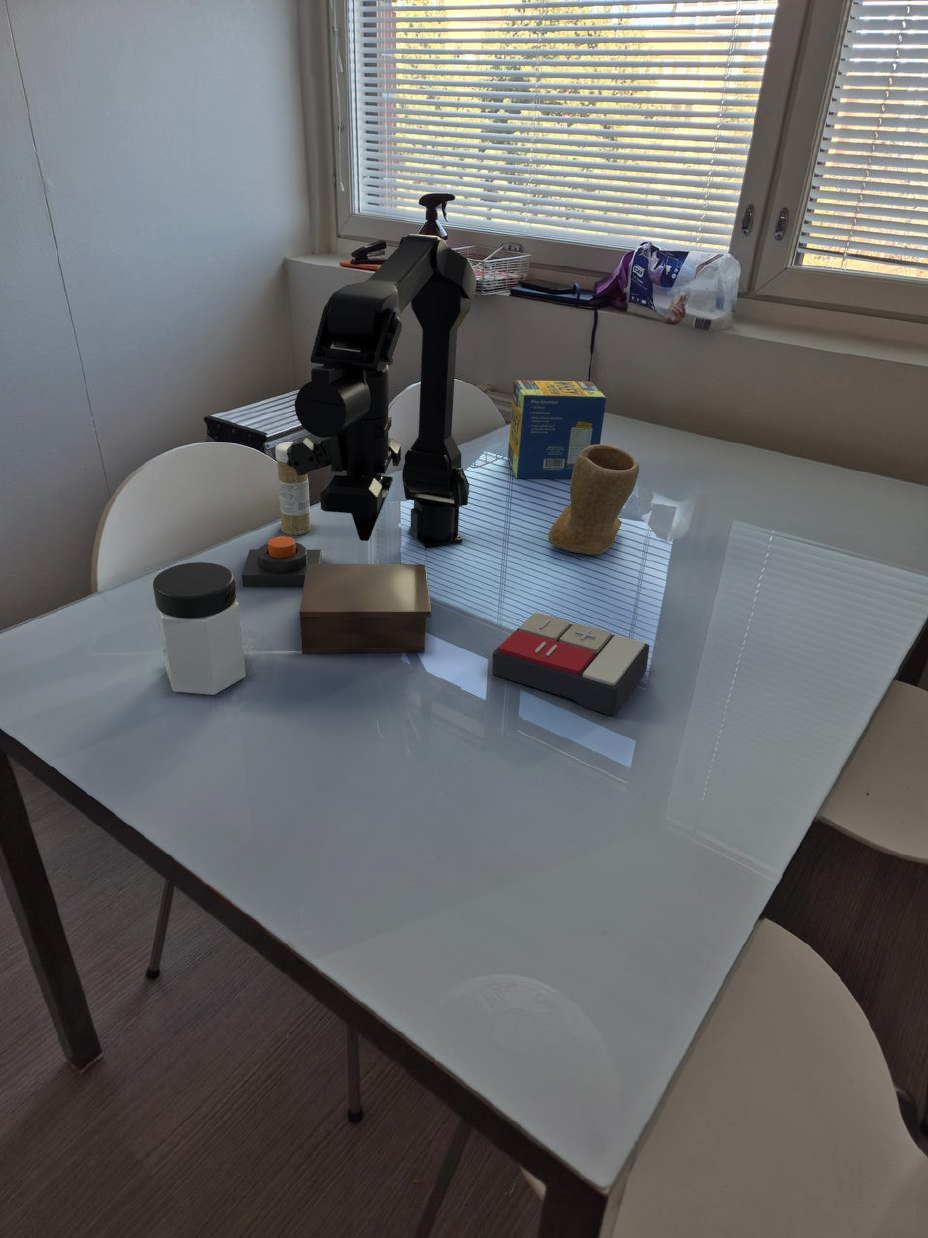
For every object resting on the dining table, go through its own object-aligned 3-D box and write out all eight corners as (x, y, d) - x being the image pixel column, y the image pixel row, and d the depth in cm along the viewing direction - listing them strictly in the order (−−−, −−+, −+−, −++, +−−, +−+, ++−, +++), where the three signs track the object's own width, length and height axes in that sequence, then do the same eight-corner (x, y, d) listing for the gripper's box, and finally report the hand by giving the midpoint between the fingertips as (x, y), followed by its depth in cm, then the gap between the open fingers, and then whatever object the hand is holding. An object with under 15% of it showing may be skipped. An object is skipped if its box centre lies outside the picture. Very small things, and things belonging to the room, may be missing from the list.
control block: (321, 561, 117) (320, 539, 115) (318, 587, 110) (317, 564, 108) (250, 561, 116) (248, 538, 114) (242, 587, 109) (240, 564, 107)
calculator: (533, 607, 101) (651, 638, 94) (532, 638, 103) (647, 670, 96) (491, 646, 92) (617, 683, 86) (490, 679, 94) (613, 717, 88)
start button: (296, 547, 113) (296, 536, 112) (294, 559, 110) (293, 547, 109) (270, 547, 113) (269, 535, 112) (267, 558, 110) (266, 547, 109)
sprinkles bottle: (301, 522, 128) (297, 438, 122) (316, 532, 126) (312, 447, 119) (275, 528, 126) (269, 443, 119) (290, 539, 123) (284, 452, 116)
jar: (252, 687, 89) (243, 590, 83) (175, 704, 86) (159, 604, 80) (234, 647, 96) (224, 555, 90) (162, 661, 93) (146, 566, 87)
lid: (425, 568, 106) (425, 564, 105) (431, 617, 95) (431, 611, 95) (307, 568, 104) (307, 563, 104) (299, 617, 93) (299, 611, 93)
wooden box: (419, 602, 108) (420, 568, 106) (424, 652, 97) (425, 617, 95) (309, 602, 106) (307, 568, 104) (301, 653, 96) (299, 617, 93)
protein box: (506, 459, 159) (512, 379, 151) (583, 460, 161) (593, 380, 153) (515, 478, 150) (522, 394, 142) (596, 479, 152) (608, 396, 144)
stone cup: (616, 567, 120) (631, 470, 112) (538, 551, 124) (549, 455, 116) (637, 530, 132) (652, 440, 125) (566, 516, 136) (577, 427, 128)
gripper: (311, 386, 100) (317, 505, 108) (268, 432, 84) (278, 568, 92) (402, 392, 100) (400, 511, 107) (375, 440, 83) (376, 576, 91)
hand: (364, 539), depth 99 cm, fingers closed
